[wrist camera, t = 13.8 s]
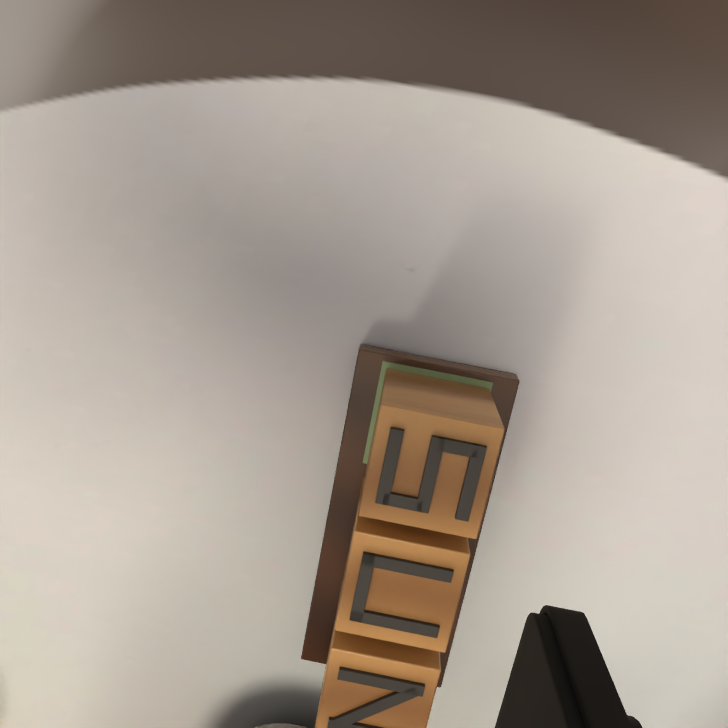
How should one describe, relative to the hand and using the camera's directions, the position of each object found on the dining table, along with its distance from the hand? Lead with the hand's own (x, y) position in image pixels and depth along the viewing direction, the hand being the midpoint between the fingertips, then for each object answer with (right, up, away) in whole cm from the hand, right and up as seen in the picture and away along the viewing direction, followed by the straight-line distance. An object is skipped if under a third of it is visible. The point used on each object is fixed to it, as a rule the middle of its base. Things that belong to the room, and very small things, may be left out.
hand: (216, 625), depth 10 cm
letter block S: (+5, +1, +19) cm, 20 cm away
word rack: (+4, -3, +22) cm, 22 cm away
